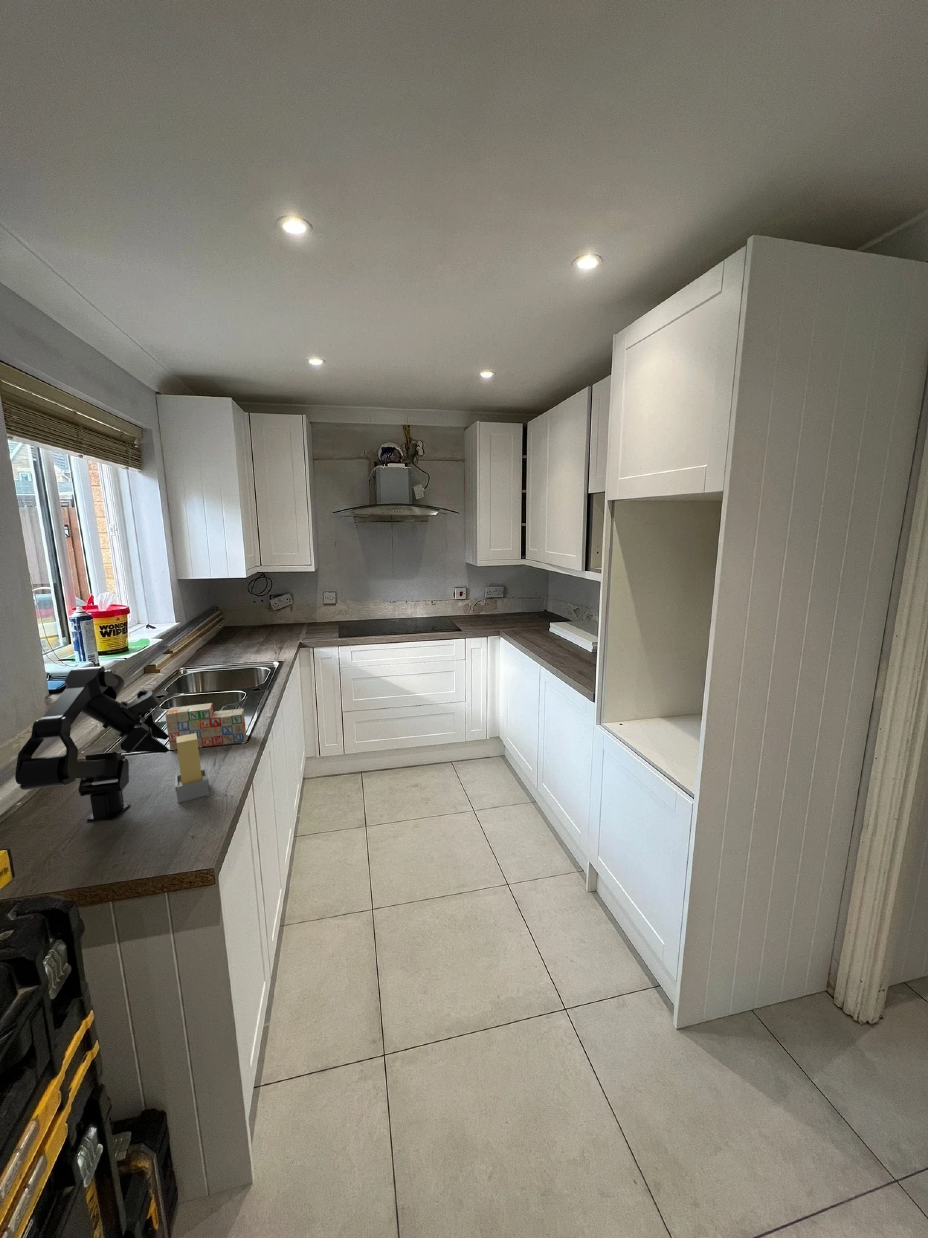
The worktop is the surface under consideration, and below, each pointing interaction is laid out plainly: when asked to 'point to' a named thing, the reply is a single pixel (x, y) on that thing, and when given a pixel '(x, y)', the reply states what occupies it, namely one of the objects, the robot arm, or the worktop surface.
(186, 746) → the mustard brick
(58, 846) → the worktop surface
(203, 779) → the base tray
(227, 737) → the stack of blocks
